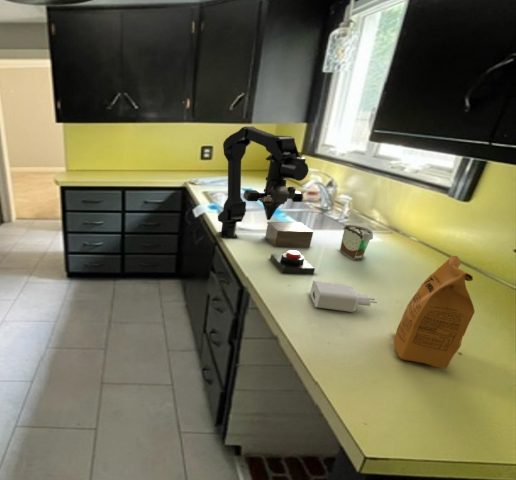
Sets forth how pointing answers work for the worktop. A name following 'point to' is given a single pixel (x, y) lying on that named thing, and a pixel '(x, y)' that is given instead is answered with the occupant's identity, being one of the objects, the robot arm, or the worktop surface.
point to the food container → (355, 241)
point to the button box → (292, 264)
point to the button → (293, 254)
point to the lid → (289, 227)
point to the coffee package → (436, 317)
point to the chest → (288, 238)
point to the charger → (337, 296)
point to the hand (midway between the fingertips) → (268, 219)
